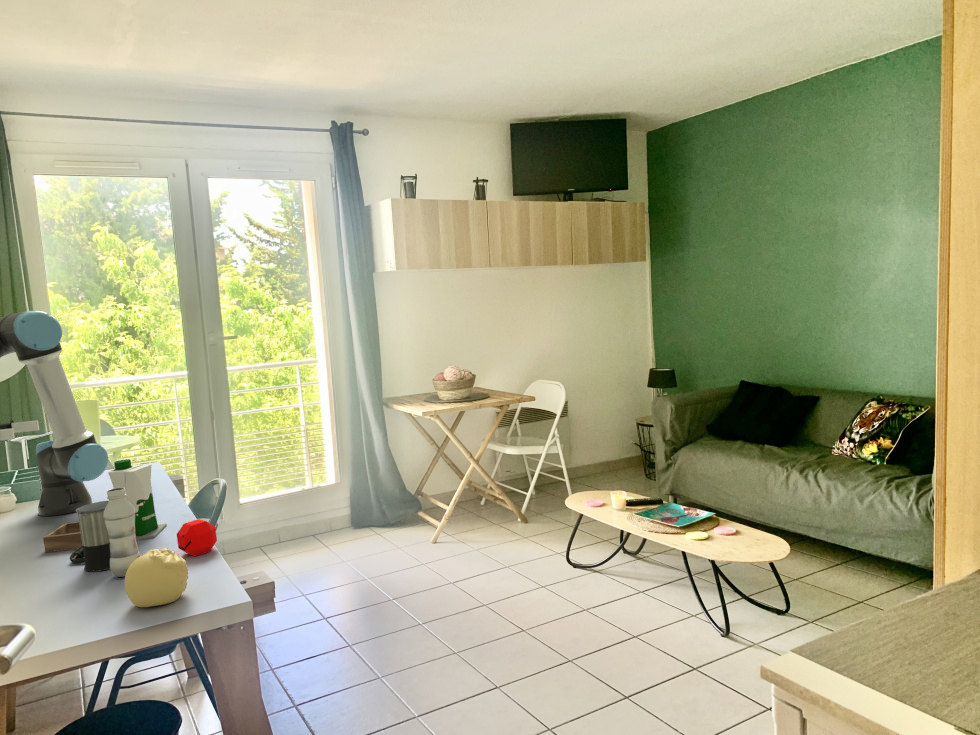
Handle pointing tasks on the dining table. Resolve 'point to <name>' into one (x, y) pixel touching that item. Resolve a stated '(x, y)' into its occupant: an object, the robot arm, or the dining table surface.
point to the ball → (196, 537)
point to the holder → (63, 538)
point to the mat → (152, 532)
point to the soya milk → (136, 493)
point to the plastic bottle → (120, 531)
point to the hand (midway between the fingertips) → (26, 429)
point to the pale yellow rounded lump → (156, 578)
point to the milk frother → (93, 538)
